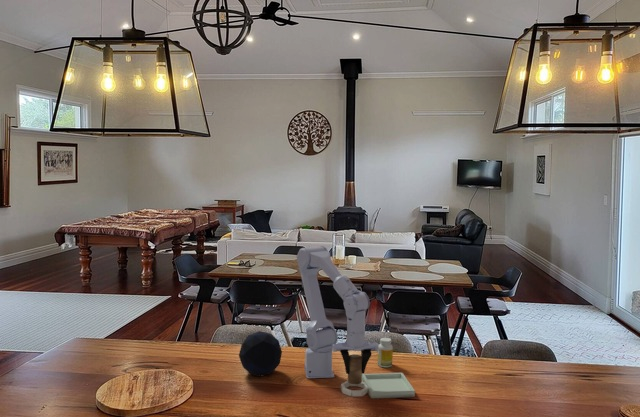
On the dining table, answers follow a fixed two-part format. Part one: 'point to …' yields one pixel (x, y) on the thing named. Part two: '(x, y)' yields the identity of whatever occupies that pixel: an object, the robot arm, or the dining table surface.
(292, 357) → the dining table surface
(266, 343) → the decorative orb
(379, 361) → the supplement bottle
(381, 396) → the tray
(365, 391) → the holder ring
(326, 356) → the robot arm
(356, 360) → the walnut canister
